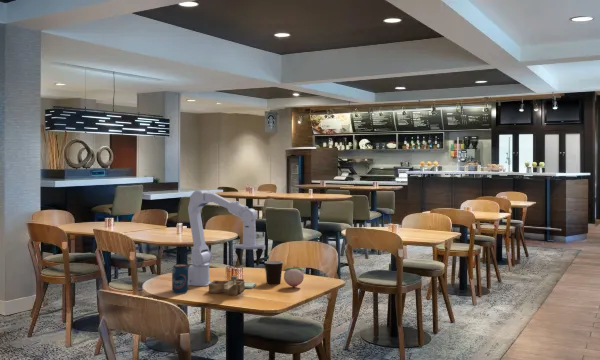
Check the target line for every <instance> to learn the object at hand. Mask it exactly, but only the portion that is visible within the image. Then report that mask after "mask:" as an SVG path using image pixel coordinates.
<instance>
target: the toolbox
mask: <svg viewBox="0 0 600 360" xmlns="http://www.w3.org/2000/svg"><path fill="white" fill-rule="evenodd" d="M228 281H229V280H215V279H214V280H213V281H210V282H211V283H210V284H209V285H208V294H217V295H218V294H219V295H220V294H221V295H224V294H225V295H229V296H233V297H234V296H238V295H242V293H243V292H244V291H245V289H246V288H245V279H244V278H237V279H236V284H235V285H233V286H232V287H230V288H229V289H224V284H226V283H227V282H228Z"/></svg>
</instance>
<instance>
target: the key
mask: <svg viewBox="0 0 600 360" xmlns="http://www.w3.org/2000/svg"><path fill="white" fill-rule="evenodd" d="M227 281H228V282H227V283H226V284H224V289H229V288H230V287H232V286H233V285H235V284H236V280H231V279H228V280H227Z"/></svg>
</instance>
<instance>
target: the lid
mask: <svg viewBox="0 0 600 360" xmlns="http://www.w3.org/2000/svg"><path fill="white" fill-rule="evenodd" d="M236 279H238V275H231V276H230V280H236ZM256 285H257V282H250V281H249V282H245V289H253V288H254V287H255V286H256Z"/></svg>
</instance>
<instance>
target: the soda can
mask: <svg viewBox="0 0 600 360" xmlns="http://www.w3.org/2000/svg"><path fill="white" fill-rule="evenodd" d="M171 269H172V270H171V289H172V292H173V293H174V294H176V293H182V294H185V293H187V292H188V290H189V285H188V269H189V266H187V264H185V263H177V264H173V266H172V268H171Z"/></svg>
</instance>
